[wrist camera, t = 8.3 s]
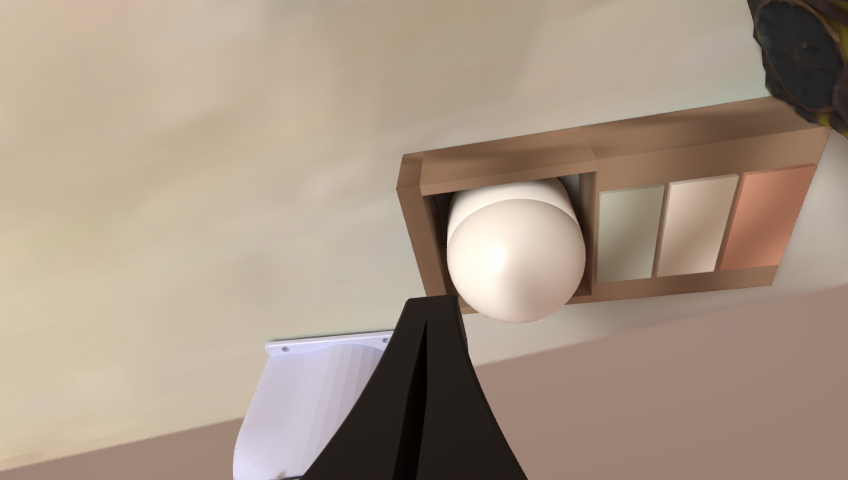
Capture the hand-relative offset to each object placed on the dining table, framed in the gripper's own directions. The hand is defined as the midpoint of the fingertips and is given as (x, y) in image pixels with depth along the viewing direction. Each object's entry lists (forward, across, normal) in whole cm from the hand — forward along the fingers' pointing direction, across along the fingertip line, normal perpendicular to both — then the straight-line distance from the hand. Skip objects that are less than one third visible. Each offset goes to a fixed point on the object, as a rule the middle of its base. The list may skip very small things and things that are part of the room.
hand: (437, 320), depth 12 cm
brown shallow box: (+10, -6, +4) cm, 13 cm away
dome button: (+10, -2, +4) cm, 11 cm away
